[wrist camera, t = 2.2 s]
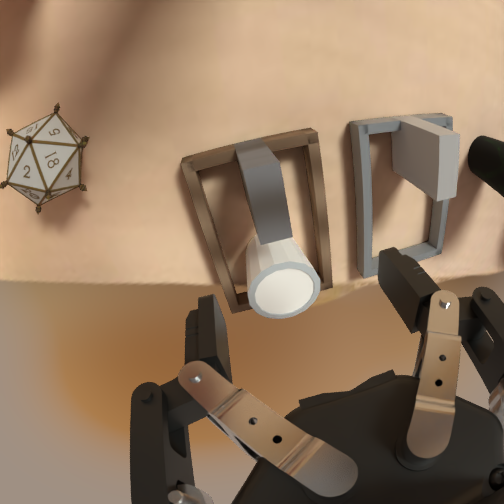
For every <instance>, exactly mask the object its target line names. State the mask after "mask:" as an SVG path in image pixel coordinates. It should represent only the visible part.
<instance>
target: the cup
mask: <svg viewBox="0 0 504 504" xmlns="http://www.w3.org/2000/svg"><path fill="white" fill-rule="evenodd" d="M468 164H469V167H470V170H471V171H472V172H473V173H474V174H475V175H477V176H478V177H479V178H481V179H482V180H483V181H484V182H486V183H487V184H488V185H489V186H491V187H492V188H493V189H494V190H496V191H497V192H498V193H499V194H501V195H502V196H503V197H504V142H502V141H499V140H496V139H493V138H490V137H487V136H479V137H477V138H476V139H475V140H474V141H473V143H472V145H471V147H470V150H469V154H468Z"/></svg>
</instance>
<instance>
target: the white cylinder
mask: <svg viewBox="0 0 504 504" xmlns="http://www.w3.org/2000/svg"><path fill="white" fill-rule="evenodd" d="M246 271H247V293H248V299H249V304H250V306H251V307H252V308H253V309H254V310H255V311H256V313H258V314H260V315H262V316H265V317H267V318H275V319H283V318H287V317H292V316H295V315H297V314H299V313H301V312H303V311H305V310H306V309H307V308H308V307H309V306H310V305H311V304H312V303H314V302H315V300H316V298H317V296H318V294H319V292H320V278H319V276H318V275H317V273H316V271H315V269H314V268H313V266H312V265H311V264H310V262H309V261H308V259H307V258H306V256H305V255H304V253H303V252H302V250H301V249H300V247H299V246H298V244H297V243H296V242H295V240H294V239H293V237H291V238H287V239H283V240H280V241H276V242H272V243H268V244H264V245H260V242H259V238H258V235H255V236H254V237H253V238H252V239H251V241H250V242H249V243H248V246H247V249H246Z"/></svg>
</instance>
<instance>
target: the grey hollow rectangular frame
mask: <svg viewBox="0 0 504 504" xmlns="http://www.w3.org/2000/svg"><path fill="white" fill-rule="evenodd" d="M349 125H350V134H351V143H352V154H353V166H354V180H355V196H356V219H357V269H358V271H359V272H360V274H361V275H362V277H363V278H367V277H371V276H374V275H377V274H378V264H379V256H378V257H374V258H372V180H371V160H370V145H369V134H376V133H384V132H391V138H392V164H393V171H394V172H396V173H397V174H399V175H400V176H402V177H403V178H405V179H406V180H407V181H409V182H410V183H412V184H413V185H415V186H416V187H417V188H419V189H420V190H422V191H423V192H424V193H426V194H427V195H429V196H430V197H431V198H433V207H432V217H431V226H430V235H429V241H428V242H425V243H421V244H418V245H415V246H411V247H408V248H405V249H402V250H398V251H399V252H400V253H401V254H402V255H405V254H406V255H408V256H410V257H411V258H413V259H415V260H416V262H418V261H421V260H424V259H427V258H430V257H433V256H436V255H439V254H441V252H442V247H443V241H444V234H445V228H446V220H447V213H448V204H449V198H453V197H456V191H457V180H458V166H459V145H460V134H458V133H456V132H454V131H453V119H452V117H451V116H448V115H445V114H442V113H433V114H417V115H404V116H393V117H383V118H374V119H366V120H358V121H351V122H349Z"/></svg>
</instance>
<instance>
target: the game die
mask: <svg viewBox="0 0 504 504" xmlns="http://www.w3.org/2000/svg"><path fill="white" fill-rule="evenodd" d="M54 107H55V109H54V113H53V114H50V115H48V116H46V117H44V118H42V119H40V120H38V121H36V122H34V123H32V124H30V125H28V126H26V127H24V128H22V129H21V130H19V131H17V132H15V133H14V132H13V130H11V129H6V130H7V134H9V136H12V140H11V146H10V154H9V161H8V170H7V180H6V181H3V182H1V184H0V188H3V189H4V187H6V186H7V185H10V186H11V187H13V188H14V189H15V190H17V191H18V192H20V193H21V194H22V195H24V196H25V197H27V198H28V199H30V200H31V201H32V202H34V203H35V204H37V207H36V212H37V214H39V212H41V206H40V205H42V204H44V203H46V202H48V201H50V200H52V199H54V198H56V197H58V196H60V195H62V194H64V193H66V192H68V191H70V190H73V189H75V188H77V187H79V188H80V190H82V191H87V189H86V185H85V186H84V184H81V159H82V148H83V147H84V148H85V146H86V144H87V141H88V139H89V137H86V136H85V137H83V138H82V139H81V138H80V137H79V136H78V135H77V134H76V133H75V132H74V131H73V130H72V128H71V127H70V126H69V125H68V124H67V123H66V122H65V121H64V120H63V119H62V118H61V116H60V115H59V114H58V111H59V108H60V106H59V102H58V104H57V105H56V106H54Z"/></svg>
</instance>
